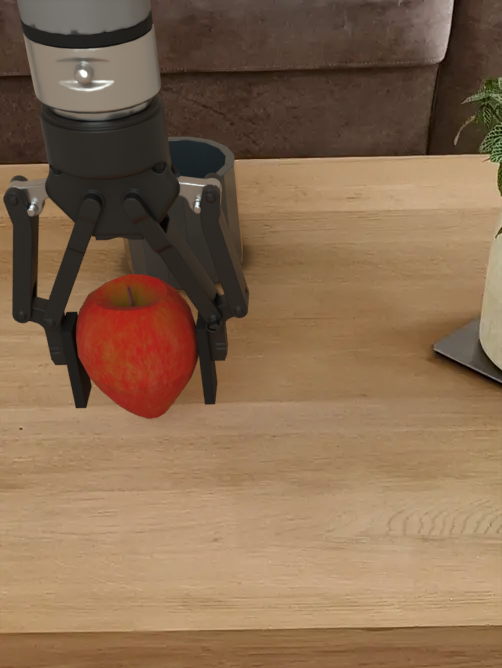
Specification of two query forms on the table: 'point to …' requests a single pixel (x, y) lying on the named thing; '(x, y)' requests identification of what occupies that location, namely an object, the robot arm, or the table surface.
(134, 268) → the dark gray cup
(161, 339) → the apple
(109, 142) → the robot arm
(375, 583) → the table surface
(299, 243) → the table surface
